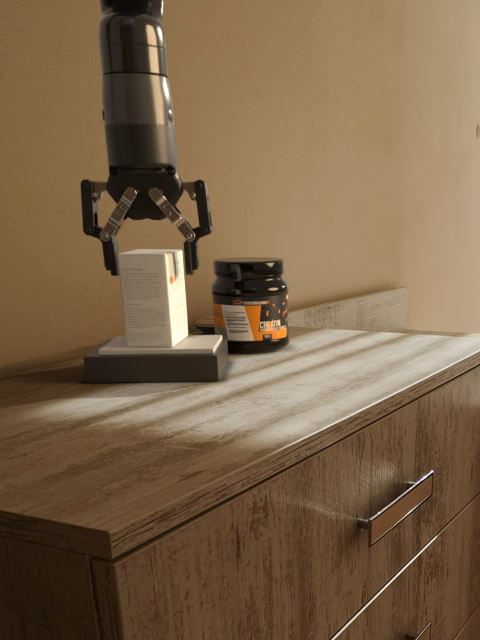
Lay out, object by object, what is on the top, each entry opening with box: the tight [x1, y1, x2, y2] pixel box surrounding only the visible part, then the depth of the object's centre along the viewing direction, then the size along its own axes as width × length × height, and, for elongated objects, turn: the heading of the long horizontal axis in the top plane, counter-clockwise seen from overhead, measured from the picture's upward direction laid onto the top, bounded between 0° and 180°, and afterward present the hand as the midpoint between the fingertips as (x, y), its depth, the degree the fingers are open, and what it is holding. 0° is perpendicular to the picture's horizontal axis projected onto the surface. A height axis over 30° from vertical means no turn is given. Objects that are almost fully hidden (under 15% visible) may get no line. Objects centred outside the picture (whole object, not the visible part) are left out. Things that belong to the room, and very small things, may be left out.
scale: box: [83, 334, 229, 384], centre depth 99 cm, size 15×12×4 cm
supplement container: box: [210, 256, 291, 354], centre depth 113 cm, size 10×10×12 cm
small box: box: [117, 248, 189, 347], centre depth 97 cm, size 8×6×10 cm
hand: (153, 275), depth 96 cm, fingers open, 8 cm apart
